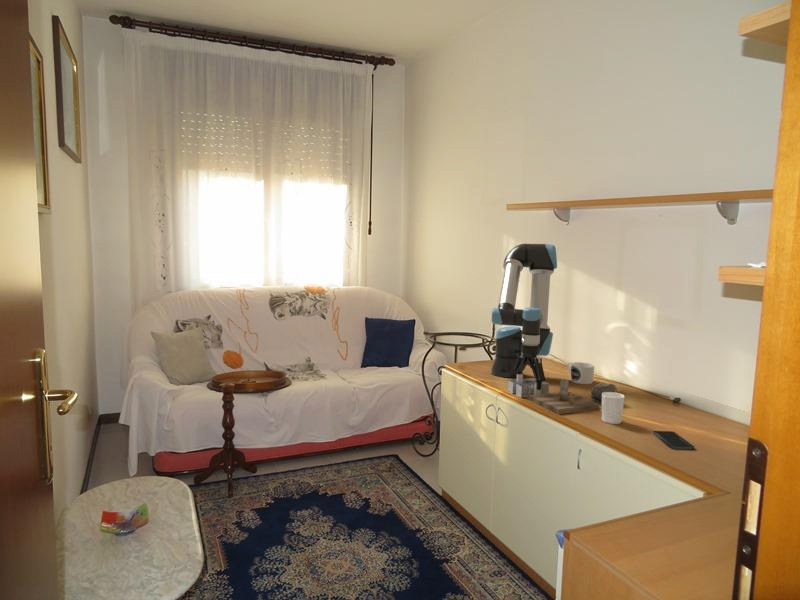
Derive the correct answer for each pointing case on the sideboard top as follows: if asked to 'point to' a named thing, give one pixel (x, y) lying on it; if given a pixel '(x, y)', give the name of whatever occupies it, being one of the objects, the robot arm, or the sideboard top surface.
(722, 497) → the sideboard top surface
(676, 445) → the phone
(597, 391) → the fossil
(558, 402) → the base
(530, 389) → the grey block
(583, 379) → the mug
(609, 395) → the white cup
